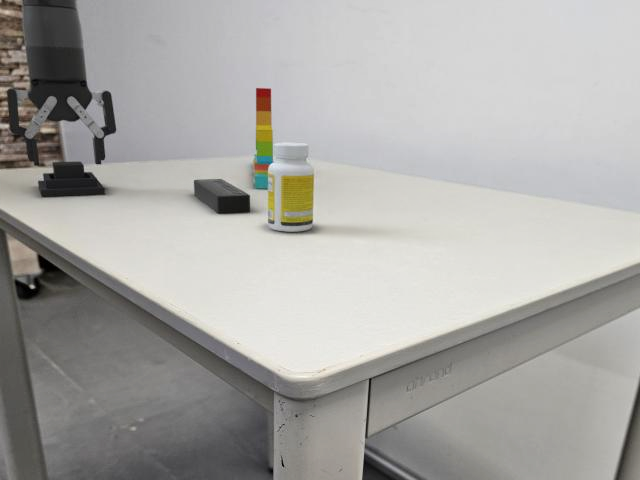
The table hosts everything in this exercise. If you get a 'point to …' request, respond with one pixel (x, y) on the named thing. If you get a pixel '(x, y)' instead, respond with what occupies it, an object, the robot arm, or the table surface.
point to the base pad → (70, 186)
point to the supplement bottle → (290, 188)
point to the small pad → (68, 170)
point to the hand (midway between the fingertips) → (68, 164)
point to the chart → (263, 138)
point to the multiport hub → (222, 196)
